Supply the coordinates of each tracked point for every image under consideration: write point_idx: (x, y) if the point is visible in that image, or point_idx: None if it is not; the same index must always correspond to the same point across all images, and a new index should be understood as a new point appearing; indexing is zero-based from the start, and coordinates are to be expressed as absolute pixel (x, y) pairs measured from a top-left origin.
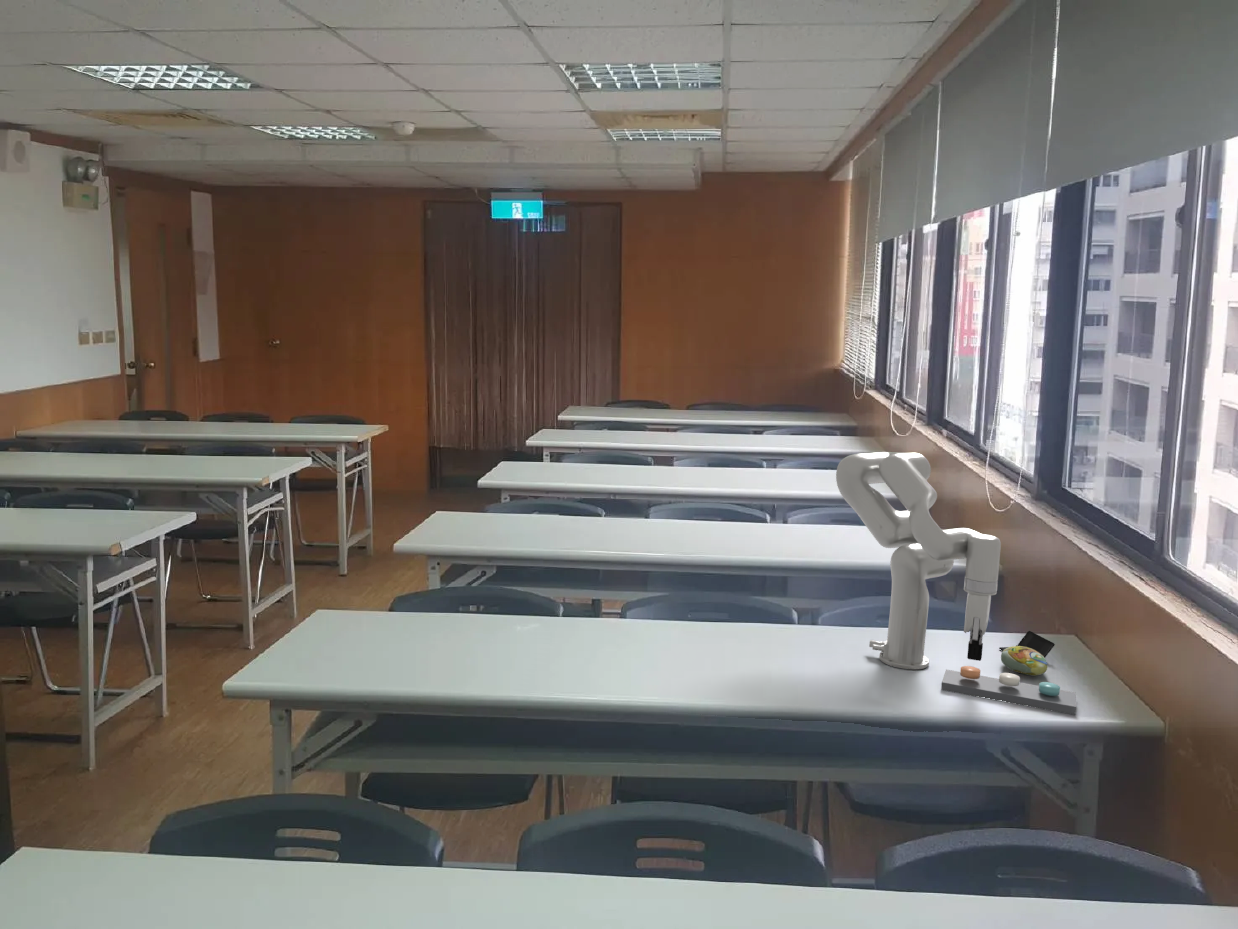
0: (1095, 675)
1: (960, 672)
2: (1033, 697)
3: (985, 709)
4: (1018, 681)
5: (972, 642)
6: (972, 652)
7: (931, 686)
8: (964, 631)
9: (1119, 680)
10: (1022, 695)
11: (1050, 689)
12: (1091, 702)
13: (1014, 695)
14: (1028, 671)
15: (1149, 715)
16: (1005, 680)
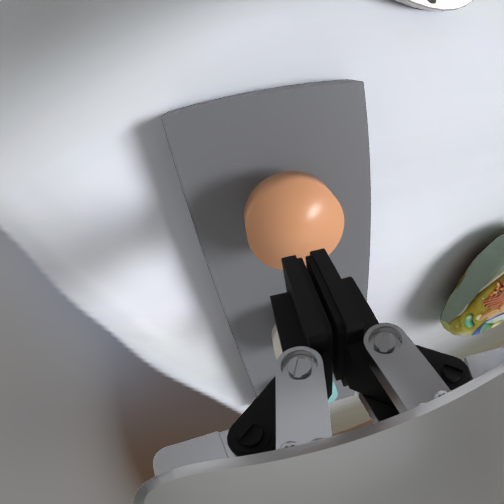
0: (480, 347)
1: (272, 180)
2: (260, 372)
3: (122, 289)
4: None
5: (267, 388)
6: (275, 319)
7: (183, 63)
8: (143, 489)
9: None
10: (254, 356)
11: None
12: None
13: (237, 345)
14: (444, 314)
15: (336, 429)
16: (275, 342)
